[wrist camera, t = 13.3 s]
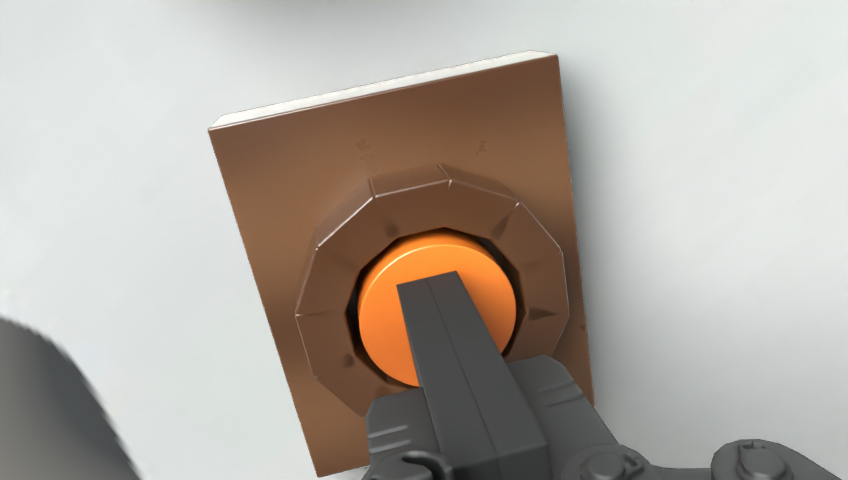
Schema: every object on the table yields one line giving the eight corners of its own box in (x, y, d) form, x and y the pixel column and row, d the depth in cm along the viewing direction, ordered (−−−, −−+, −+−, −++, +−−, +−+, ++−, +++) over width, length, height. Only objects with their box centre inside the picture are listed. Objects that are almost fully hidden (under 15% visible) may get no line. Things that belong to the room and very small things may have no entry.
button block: (220, 115, 17) (191, 142, 13) (532, 49, 18) (586, 58, 14) (318, 434, 21) (316, 524, 17) (570, 370, 22) (621, 443, 18)
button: (340, 241, 16) (342, 265, 15) (487, 207, 17) (505, 227, 15) (373, 369, 18) (378, 404, 16) (508, 335, 18) (526, 367, 16)
